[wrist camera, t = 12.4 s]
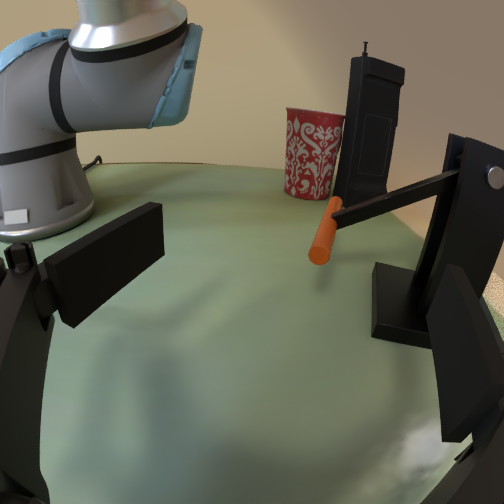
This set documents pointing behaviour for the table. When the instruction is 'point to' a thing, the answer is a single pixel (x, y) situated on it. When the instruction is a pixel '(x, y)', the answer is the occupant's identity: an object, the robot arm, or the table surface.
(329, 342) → the table surface
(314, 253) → the switch lever
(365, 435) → the table surface
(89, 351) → the table surface
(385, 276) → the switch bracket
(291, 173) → the mug
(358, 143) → the portable radio
